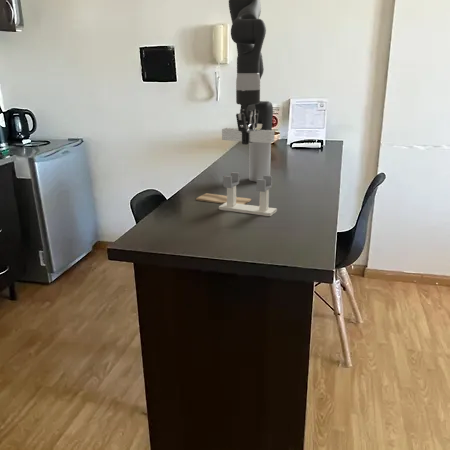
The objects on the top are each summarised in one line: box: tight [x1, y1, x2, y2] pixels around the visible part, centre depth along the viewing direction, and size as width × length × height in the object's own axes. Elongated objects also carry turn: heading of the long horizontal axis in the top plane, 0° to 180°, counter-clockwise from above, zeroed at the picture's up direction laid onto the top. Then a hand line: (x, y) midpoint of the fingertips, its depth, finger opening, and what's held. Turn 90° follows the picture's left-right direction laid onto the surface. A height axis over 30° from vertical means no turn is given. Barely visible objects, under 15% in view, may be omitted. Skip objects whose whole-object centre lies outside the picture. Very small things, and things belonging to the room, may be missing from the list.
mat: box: [195, 192, 252, 205], centre depth 167 cm, size 8×19×1 cm, turn 64°
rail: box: [221, 127, 275, 144], centre depth 147 cm, size 4×17×4 cm, turn 64°
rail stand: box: [218, 171, 278, 217], centre depth 153 cm, size 7×19×12 cm, turn 64°
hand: (247, 143), depth 148 cm, fingers closed on rail, 3 cm apart
